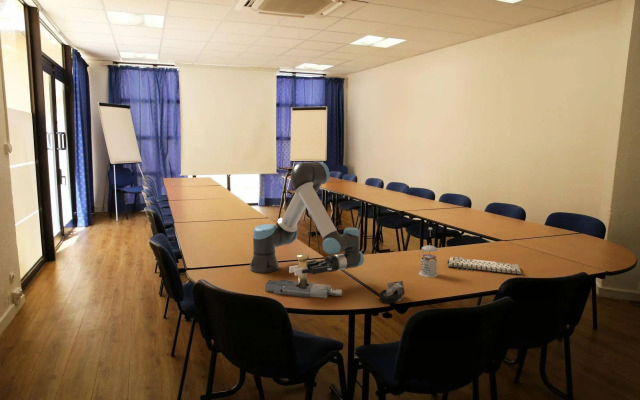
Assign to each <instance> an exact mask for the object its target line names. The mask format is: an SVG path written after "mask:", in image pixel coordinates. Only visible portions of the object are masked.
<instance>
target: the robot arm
mask: <svg viewBox="0 0 640 400" xmlns="http://www.w3.org/2000/svg"><path fill="white" fill-rule="evenodd" d="M330 175H331V173H330V169H329V167H328V165H327V164H326V163H324V162H322V161H310V162H309V161H308V162H306V161H305V162H298V163H297V164H295V165H294V167H293V168H292V169H291V171H290V183H291V185H292V188H293V190H294V192H295V193H294V195H293V196H292V199H291V201H290V202H289V204H288V206H287V209H286V210H285V212H284V213H283V216H282V217H279V218H278V220H277V222H276V224H275V225H274V224H272V223H265V224H263V223H262V224H259V225H256V226H255V227H254V228H253V230H252V231H253V233H252V241H253V242H252V246H253V249H252V250H253V255H252V258H251V262H250V271H251V272H253V273H262V274H265V273H272V272H276V271H278V270H279V269H280V268H279V262H278V258H277V256H276V248H278V247H283V246H286V245H289V244H292V243H294V242H295V241H296V240H297V238H298V231H299V230H298V225H297V224H298V223H299V221H300V219H301V217H302V215H303V213H304V212H305V210H306V209H307V212H308V213H309V216H310V218H311V219H312V221H313V223H314V224H315V226H316V228H317V230H318V232H319V233H320V235H321V238H322V240H323V241H322V249H323V251H324V252H325V254H328V256H327V255H326V257H325V258H324V260H323V259H320V260H318V259H313V260H307V267H305V268H299V269H298V265H293V266H292V265H290V266H288V267H289V268H288V272H289V274H292V273H294V276H296V277H298V275H302V274H307V275H308V274H309V275H310V274H312V275H317V274H323V273H333V272H341V271H342V270H348V269H353V268H357V267H361V266H362V265H363V264H364V262H365V257H364V254H363V252H362V251H361V250H360V229H359V228H357V227H345V228H344V229H343V234H342V233H341V234H340V233H339V231H338V230H337V228H336V227H335V224H334V223H333V220H332V219H331V217H330V216H329V213H328V211H327V210H326V208H325V206H324V205H323V203H322V200H321V199H320V198H319V195H318V194H317V192H318V191H319V190H320V188H321V186H322V185H325V184H327V183H328V182H329V180H330V177H331V176H330ZM341 252H343V253H341ZM338 253H339V254H338Z"/></svg>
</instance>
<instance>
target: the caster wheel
mask: <svg viewBox="0 0 640 400" xmlns="http://www.w3.org/2000/svg"><path fill="white" fill-rule="evenodd" d="M405 294H406V291H405V287H404V280H398V281H394V282H393V281H392V282H388V283H387V287H386V288H385V289H383V290H381V292H379V294H378V295H379V300H380V302H381V303H383V304H385V305H387V304H388V305H389V304H394V303H397V302H398V303H399V302H400V301H402V299H403V298H404V296H405Z"/></svg>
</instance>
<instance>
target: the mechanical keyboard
mask: <svg viewBox="0 0 640 400" xmlns="http://www.w3.org/2000/svg"><path fill="white" fill-rule="evenodd" d="M447 264H448V267H447V268H448V269H449V270H454V271H455V270H456V271H464V272H465V271H466V272H475V273H476V272H477V273H485V274H498V275H499V274H501V275H510V276H518V277H519V276H520V277H521V276H522V271H521V269H520V266H519V264H518V263H517V264H516V263H506V262H505V263H504V262H500V261H499V262H497V261H492V260H491V261H490V260H481V259H473V258H472V259H471V258H463V257H461V256H460V257H459V256H455V257H454V256H452V255H451V256H450V258H449V260H447Z"/></svg>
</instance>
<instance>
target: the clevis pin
mask: <svg viewBox="0 0 640 400" xmlns="http://www.w3.org/2000/svg"><path fill="white" fill-rule="evenodd" d="M296 260H298V269H299V268H305V267H307V261H309V260H310V254H307V253H297V254H296ZM297 281H298V286H300V287H306V286H307V282H308V273H307V274H302V275H297Z"/></svg>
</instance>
